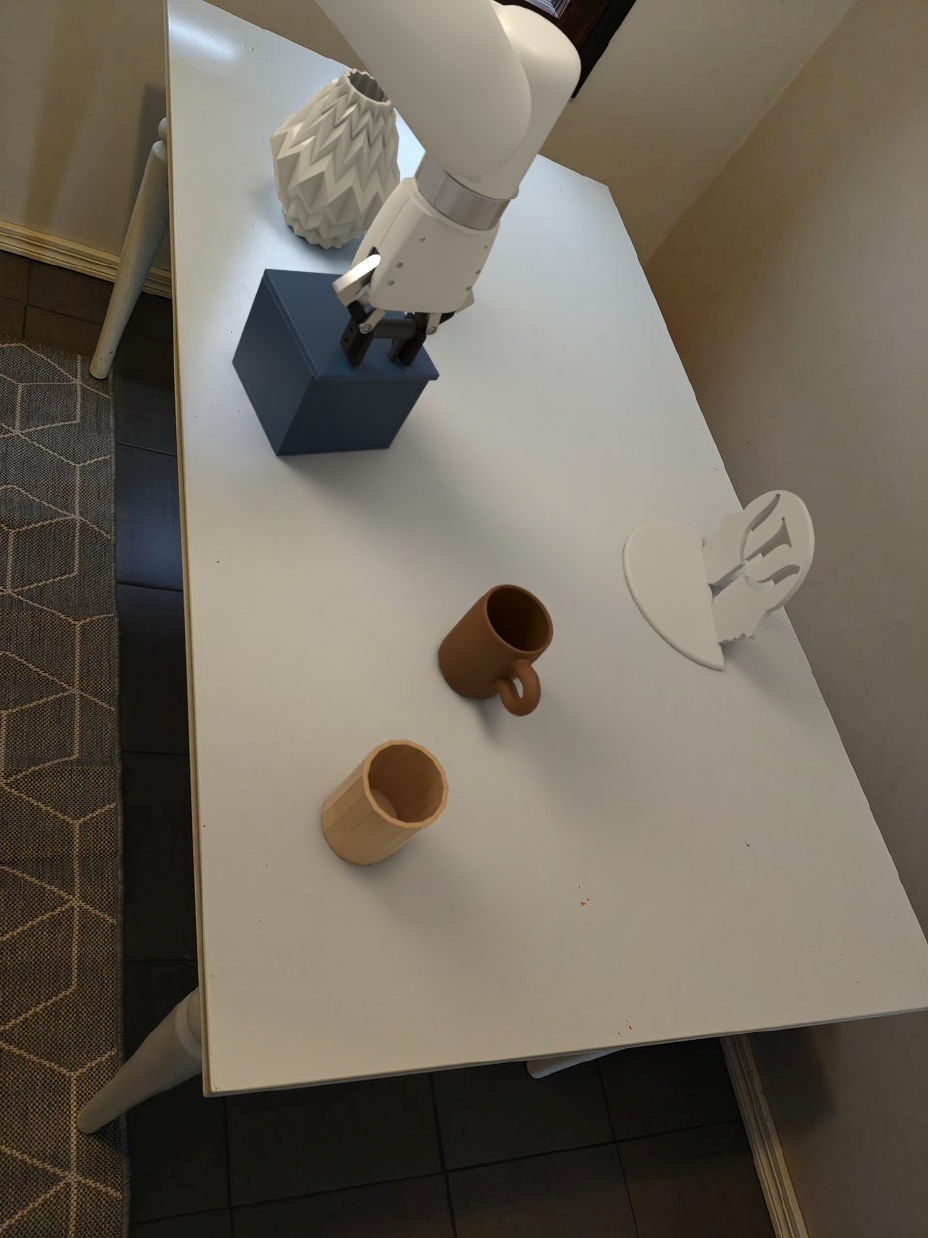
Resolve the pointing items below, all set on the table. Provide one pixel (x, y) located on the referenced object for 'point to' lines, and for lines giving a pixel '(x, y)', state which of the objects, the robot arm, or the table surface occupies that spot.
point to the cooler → (312, 392)
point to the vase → (337, 160)
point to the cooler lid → (324, 322)
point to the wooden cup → (384, 802)
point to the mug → (499, 648)
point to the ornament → (717, 574)
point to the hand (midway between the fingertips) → (375, 353)
